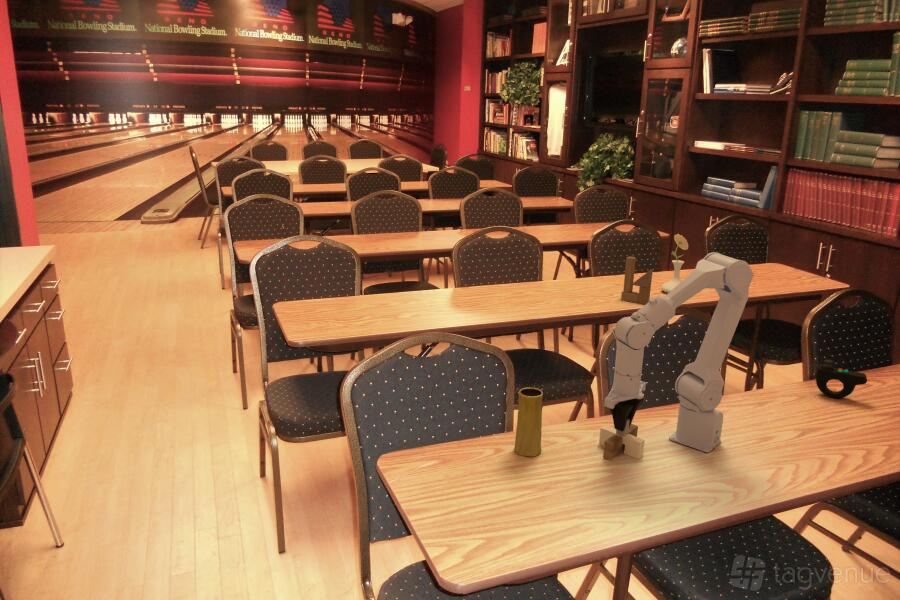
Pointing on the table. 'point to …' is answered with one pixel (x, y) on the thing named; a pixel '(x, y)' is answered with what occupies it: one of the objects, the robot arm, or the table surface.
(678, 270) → the flower in vase
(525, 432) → the vase
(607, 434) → the burr puzzle piece
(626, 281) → the wooden block
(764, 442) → the table surface
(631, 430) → the walnut slotted plate
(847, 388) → the controller
